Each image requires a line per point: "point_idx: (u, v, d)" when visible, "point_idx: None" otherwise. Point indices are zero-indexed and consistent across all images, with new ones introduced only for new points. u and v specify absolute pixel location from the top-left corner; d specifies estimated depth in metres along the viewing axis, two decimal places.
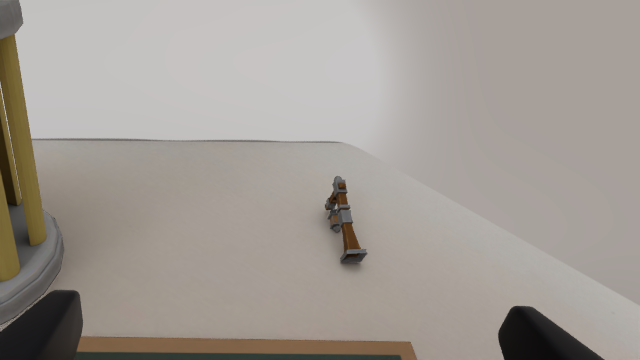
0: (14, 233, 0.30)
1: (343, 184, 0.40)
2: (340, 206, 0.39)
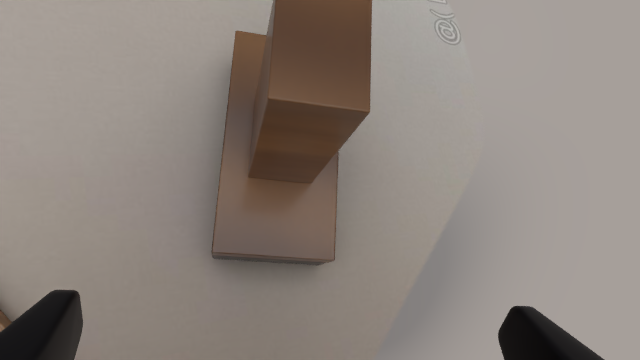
0: None
1: None
2: None
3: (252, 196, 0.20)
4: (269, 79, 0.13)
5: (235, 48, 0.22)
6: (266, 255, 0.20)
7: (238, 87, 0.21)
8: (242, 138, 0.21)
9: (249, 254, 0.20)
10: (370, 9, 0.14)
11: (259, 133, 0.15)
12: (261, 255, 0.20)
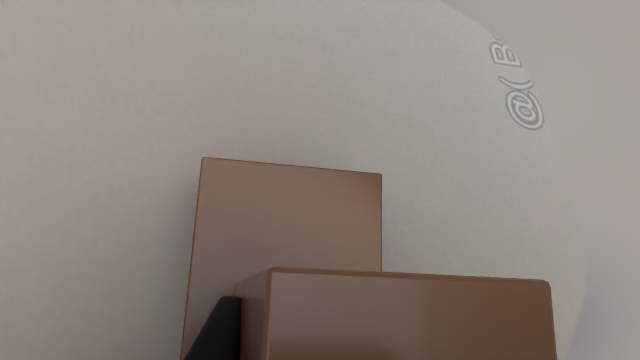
0: None
1: None
2: None
3: None
4: None
5: (201, 190, 0.13)
6: None
7: (206, 265, 0.12)
8: None
9: None
10: (551, 333, 0.05)
11: None
12: None
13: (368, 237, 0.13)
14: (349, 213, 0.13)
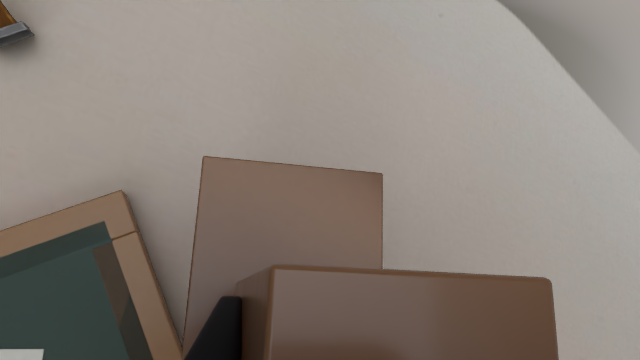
0: None
1: None
2: None
3: None
4: None
5: (202, 189, 0.13)
6: None
7: (207, 264, 0.12)
8: None
9: None
10: (552, 330, 0.05)
11: None
12: None
13: (369, 236, 0.13)
14: (350, 212, 0.13)
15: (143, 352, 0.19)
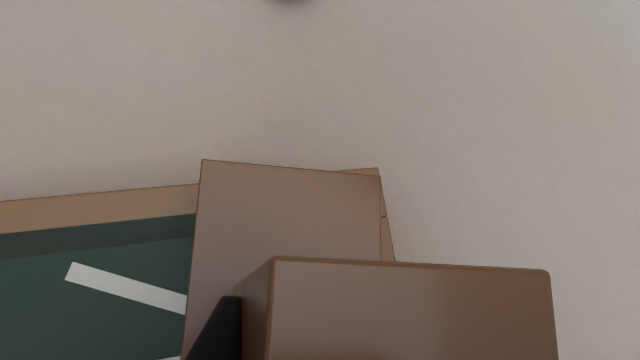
0: None
1: None
2: None
3: None
4: None
5: (201, 192, 0.13)
6: None
7: (206, 267, 0.12)
8: None
9: None
10: (551, 322, 0.05)
11: None
12: None
13: (367, 239, 0.13)
14: (348, 215, 0.13)
15: None
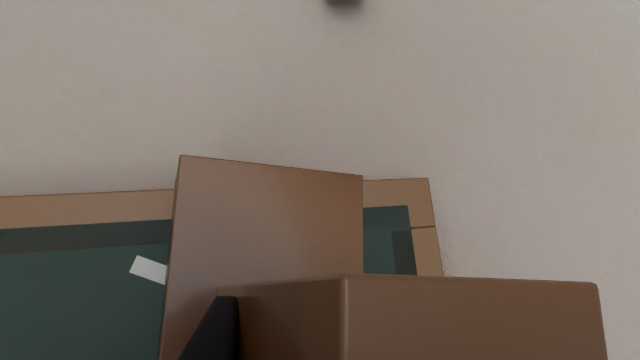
0: None
1: None
2: None
3: None
4: None
5: (179, 190, 0.12)
6: None
7: (185, 269, 0.12)
8: None
9: None
10: (601, 334, 0.05)
11: None
12: None
13: (350, 239, 0.13)
14: (331, 215, 0.13)
15: None
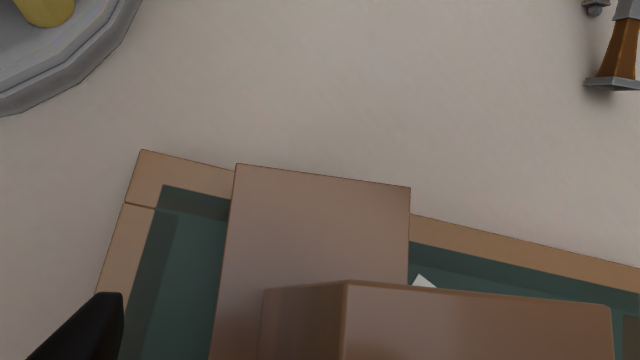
0: None
1: None
2: None
3: None
4: None
5: (234, 196, 0.13)
6: None
7: (236, 270, 0.12)
8: None
9: None
10: (611, 357, 0.05)
11: None
12: None
13: (395, 249, 0.13)
14: (377, 225, 0.14)
15: None
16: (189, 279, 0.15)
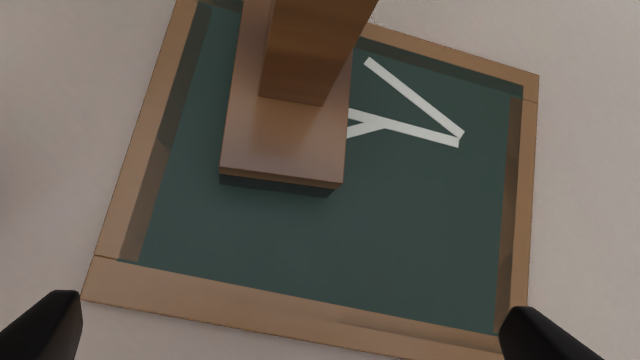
0: None
1: None
2: None
3: (261, 115, 0.20)
4: None
5: None
6: (274, 173, 0.19)
7: (251, 8, 0.21)
8: (253, 57, 0.20)
9: (256, 171, 0.19)
10: None
11: (271, 21, 0.15)
12: (269, 173, 0.19)
13: None
14: None
15: (513, 172, 0.26)
16: (220, 44, 0.24)
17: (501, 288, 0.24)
